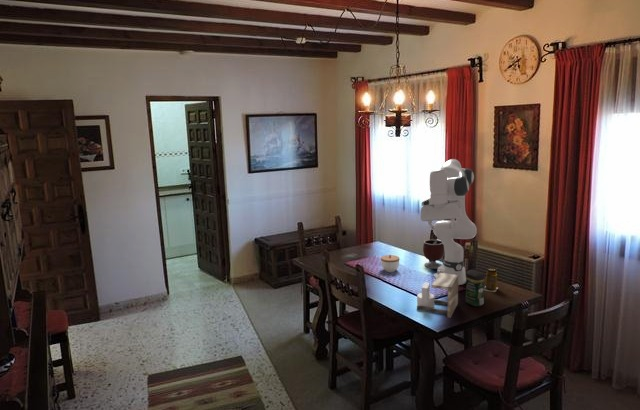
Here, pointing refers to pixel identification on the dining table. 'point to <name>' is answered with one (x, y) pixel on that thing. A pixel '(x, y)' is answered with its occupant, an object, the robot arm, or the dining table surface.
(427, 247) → the mate gourd
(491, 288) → the condiment
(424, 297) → the base with upright slab
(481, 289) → the coffee jar
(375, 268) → the dining table surface
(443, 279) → the shelf
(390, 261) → the lidded bowl
